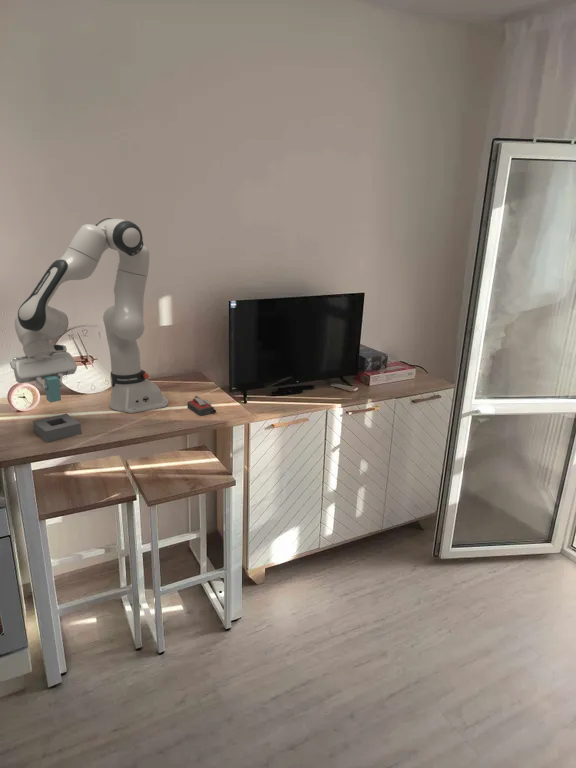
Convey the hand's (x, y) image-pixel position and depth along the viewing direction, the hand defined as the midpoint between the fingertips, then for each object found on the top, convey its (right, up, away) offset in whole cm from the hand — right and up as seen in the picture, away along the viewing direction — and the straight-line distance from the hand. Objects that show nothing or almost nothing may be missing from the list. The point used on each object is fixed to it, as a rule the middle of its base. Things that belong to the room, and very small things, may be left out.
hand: (53, 387), depth 198 cm
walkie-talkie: (+45, -9, +33) cm, 56 cm away
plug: (-1, -4, +2) cm, 5 cm away
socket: (-1, -16, +6) cm, 17 cm away
